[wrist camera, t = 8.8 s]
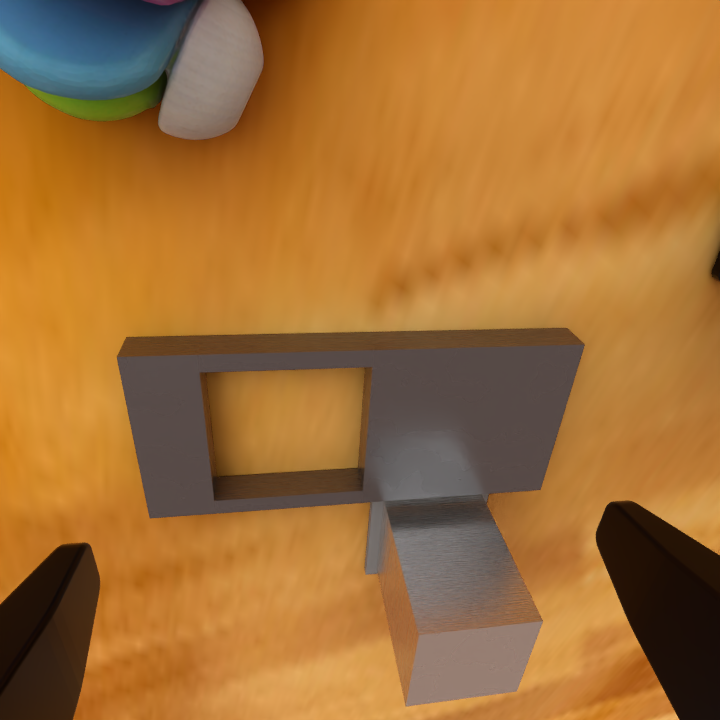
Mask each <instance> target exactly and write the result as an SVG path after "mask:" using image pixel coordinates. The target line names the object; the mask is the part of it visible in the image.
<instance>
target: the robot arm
mask: <svg viewBox="0 0 720 720" xmlns="http://www.w3.org/2000/svg"><path fill="white" fill-rule="evenodd" d="M712 277H713V278H714V279H715V280H717V281H719V282H720V252H719V254H718V257H717V259H716V262H715V264H714V266H713V269H712ZM596 542H597V546H598V549H599V551H600V554H601V556H602V559H603V561H604V563H605V566H606V568H607V571H608V573H609V576H610V578H611V580H612V583H613V585H614V588H615V590H616V593H617V595H618V598H619V600H620V602H621V605H622V607H623V610H624V612H625V614H626V617H627V619H628V621H629V623H630V626H631V628H632V630H633V632H634V634H635V636H636V638H637V640H638V642H639V644H640V645H641V647H642V649H643V651H644V653H645V655H646V657H647V659H648V661H649V663H650V665H651V666H652V668H653V670H654V672H655V674H656V676H657V678H658V680H659V682H660V684H661V686H662V687H663V689H664V691H665V693H666V695H667V697H668V699H669V701H670V703H671V705H672V707H673V708H674V710H675V712H676V714H677V716H678V718H679V720H720V555H718V554H717V553H715V552H713V551H712V550H710V549H709V548H707V547H705V546H704V545H702V544H701V543H699V542H697V541H696V540H694V539H693V538H691V537H689V536H688V535H686V534H685V533H683V532H681V531H680V530H678V529H677V528H675V527H673V526H672V525H670V524H669V523H667V522H665V521H664V520H662V519H661V518H659V517H657V516H656V515H654V514H653V513H651V512H649V511H648V510H646V509H645V508H643V507H642V506H640V505H638V504H637V503H635V502H633V501H615V502H610V503H609V504H608V505H607V506H606V508H605V511H604V513H603V516H602V518H601V521H600V523H599V526H598V528H597V531H596ZM99 590H100V576H99V572H98V569H97V565H96V562H95V558H94V555H93V552H92V548H91V546H90V545H89V544H88V543H71V544H63V545H60V546H59V547H57V548H56V549H55V550H54V551H53V552H52V553H51V554H50V555H49V556H48V557H47V558H46V559H45V560H44V561H43V562H42V563H41V564H40V565H39V566H38V567H37V568H36V569H35V570H34V571H33V572H32V573H31V574H30V575H29V576H28V577H27V578H26V579H25V580H24V581H23V582H22V583H21V584H20V585H19V586H18V587H17V588H16V589H15V590H14V591H13V592H12V593H11V594H10V595H9V596H8V597H7V598H6V599H5V600H4V601H3V602H2V603H1V604H0V720H73V717H74V714H75V710H76V707H77V703H78V699H79V696H80V692H81V688H82V683H83V678H84V673H85V667H86V662H87V656H88V651H89V645H90V640H91V635H92V629H93V624H94V618H95V613H96V607H97V602H98V596H99Z"/></svg>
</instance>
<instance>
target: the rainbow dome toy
mask: <svg viewBox="0 0 720 720" xmlns="http://www.w3.org/2000/svg"><path fill="white" fill-rule="evenodd" d="M263 65H264V57H263V50H262V45H261V40H260V37H259V34H258V31H257V28H256V26H255V23H254V21H253V19H252V17H251V15H250V13H249V11H248V10H247V8H246V7H245V5H244V4H243V2H242V1H241V0H0V69H2V70H3V71H5V72H6V73H7V74H9V75H10V76H12V77H13V78H15V79H16V80H17V81H19V82H21V83H23V84H24V85H25V86H26V87H27V88H28V89H29V90H30V91H31V92H32V93H33V94H34V95H36V96H37V97H38V98H40V99H41V100H42V101H44V102H45V103H47V104H49V105H50V106H52V107H54V108H56V109H58V110H60V111H62V112H64V113H66V114H69V115H71V116H73V117H77V118H80V119H85V120H92V121H114V120H120V119H125V118H128V117H132V116H134V115H137V114H139V113H141V112H143V111H144V110H146V109H148V108H154V107H155V106H156V105H157V104H158V103H159V102H160V101H161V100H162V103H161V108H160V112H159V117H158V125H159V127H160V129H161V130H162V131H163V132H165V133H166V134H169V135H172V136H174V137H178V138H183V139H190V140H202V139H209V138H213V137H217V136H220V135H222V134H225V133H227V132H229V131H230V130H231V129H233V128H234V127H235V126H236V124H237V123H238V121H239V119H240V117H241V115H242V113H243V110H244V108H245V106H246V104H247V102H248V100H249V98H250V96H251V93H252V91H253V89H254V87H255V85H256V83H257V81H258V79H259V76H260V74H261V72H262V70H263ZM162 98H163V99H162Z"/></svg>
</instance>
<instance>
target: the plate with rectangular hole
mask: <svg viewBox="0 0 720 720" xmlns="http://www.w3.org/2000/svg"><path fill="white" fill-rule="evenodd" d="M584 346H585V344H584V343H583V342H581V341H580V340H579V339H578V338H577V337H576V336H575V335H574V334H573V333H572V332H571V331H570V330H569V329H567V328H543V329H496V330H448V331H401V332H353V333H306V334H258V335H211V336H163V337H126V339H125V341H124V343H123V345H122V347H121V349H120V352H119V354H118V356H117V360H118V365H119V370H120V375H121V380H122V385H123V390H124V395H125V400H126V404H127V409H128V414H129V419H130V424H131V429H132V434H133V439H134V444H135V449H136V453H137V458H138V463H139V468H140V473H141V478H142V483H143V488H144V493H145V498H146V502H147V507H148V512H149V517H150V518H161V517H175V516H188V515H202V514H216V513H229V512H243V511H257V510H271V509H284V508H298V507H312V506H326V505H339V504H353V503H367V502H381V501H394V500H408V499H422V498H436V497H449V496H463V495H477V494H491V493H504V492H518V491H532V490H541V486H542V483H543V480H544V477H545V473H546V470H547V467H548V463H549V460H550V457H551V454H552V450H553V447H554V444H555V441H556V437H557V434H558V431H559V427H560V424H561V421H562V418H563V414H564V411H565V408H566V404H567V401H568V398H569V395H570V391H571V388H572V385H573V382H574V378H575V375H576V372H577V368H578V365H579V362H580V359H581V355H582V352H583V349H584ZM359 367H365V374H364V389H363V403H362V418H361V432H360V447H359V461H358V468H353V469H337V470H321V471H304V472H288V473H272V474H256V475H240V476H224V477H217V472H216V463H215V454H214V445H213V435H212V426H211V417H210V408H209V399H208V389H207V380H206V372H232V371H264V370H295V369H327V368H359Z"/></svg>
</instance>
